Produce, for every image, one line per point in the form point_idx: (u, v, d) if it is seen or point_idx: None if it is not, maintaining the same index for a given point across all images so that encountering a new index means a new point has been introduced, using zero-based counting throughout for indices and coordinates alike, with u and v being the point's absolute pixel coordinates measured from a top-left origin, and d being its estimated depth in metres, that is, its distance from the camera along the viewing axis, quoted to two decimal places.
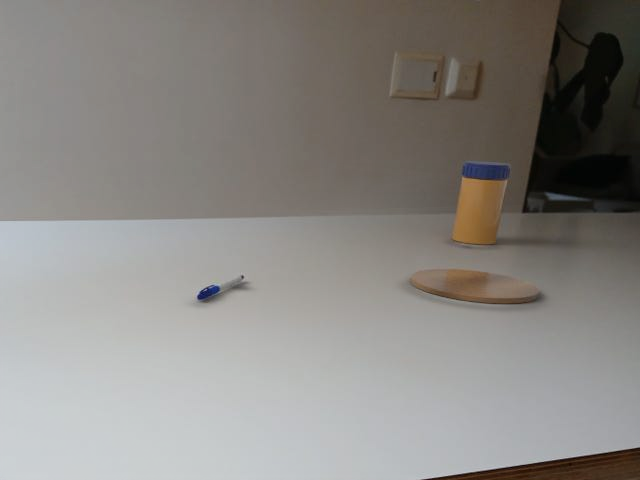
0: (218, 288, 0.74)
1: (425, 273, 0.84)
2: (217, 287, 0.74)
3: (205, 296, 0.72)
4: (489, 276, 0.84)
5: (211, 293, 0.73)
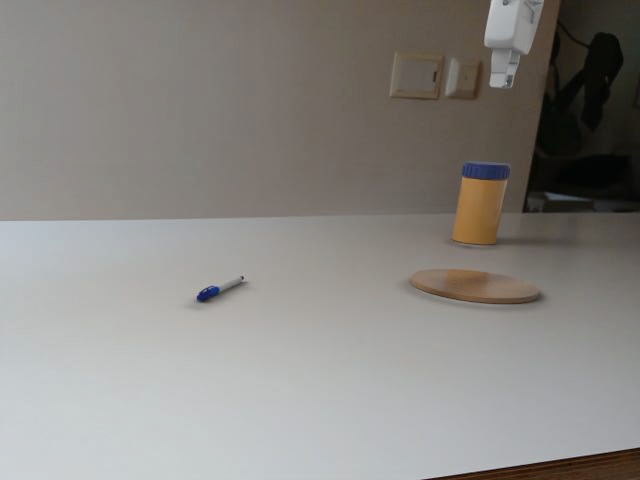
0: (218, 289, 0.74)
1: (425, 273, 0.84)
2: (217, 288, 0.74)
3: (205, 297, 0.72)
4: (489, 276, 0.84)
5: (211, 294, 0.73)
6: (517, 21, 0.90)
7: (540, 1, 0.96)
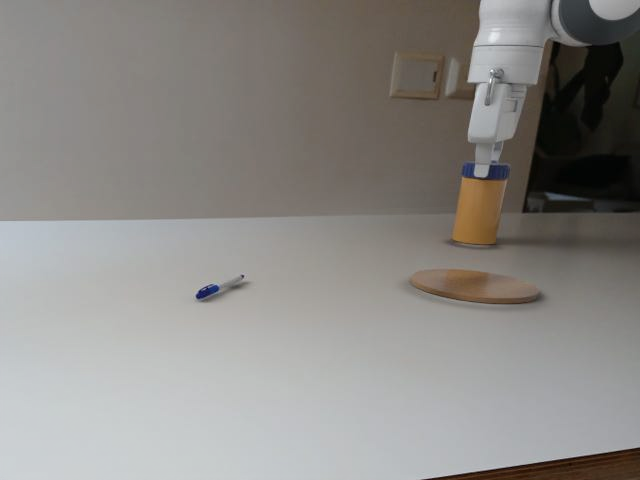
0: (217, 287, 0.74)
1: (425, 273, 0.84)
2: (216, 286, 0.74)
3: (204, 295, 0.72)
4: (489, 276, 0.84)
5: (210, 292, 0.73)
6: (498, 121, 0.94)
7: (522, 96, 1.00)
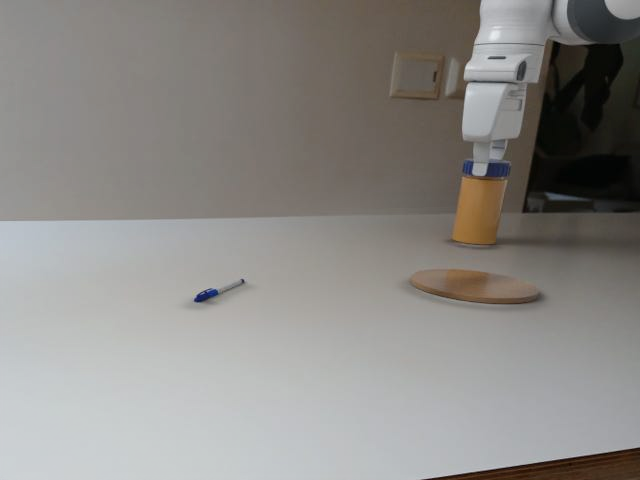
0: (216, 292, 0.74)
1: (425, 273, 0.84)
2: (215, 290, 0.74)
3: (202, 299, 0.72)
4: (489, 276, 0.84)
5: (209, 296, 0.73)
6: None
7: None
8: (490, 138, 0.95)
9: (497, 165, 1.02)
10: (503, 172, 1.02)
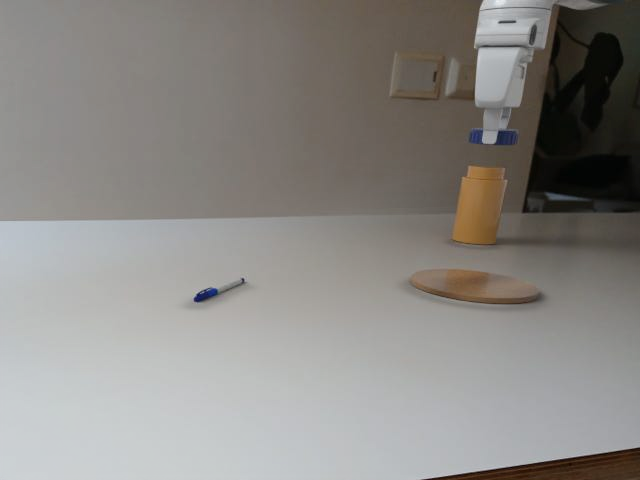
0: (216, 291, 0.74)
1: (425, 273, 0.84)
2: (215, 290, 0.74)
3: (202, 298, 0.72)
4: (489, 276, 0.84)
5: (208, 296, 0.73)
6: None
7: None
8: (504, 103, 0.94)
9: (506, 133, 1.01)
10: (511, 140, 1.01)
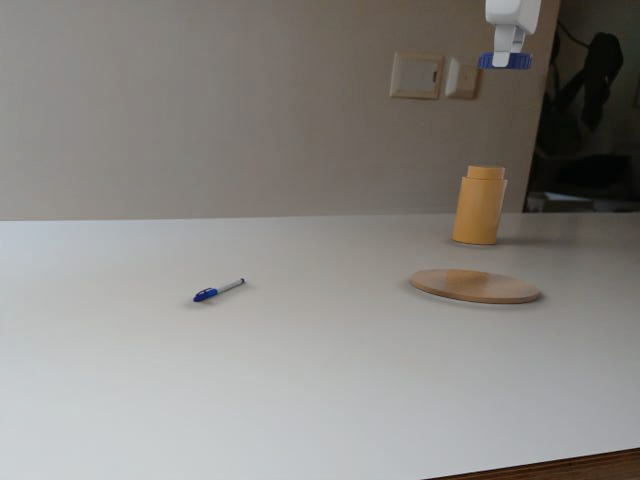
0: (216, 291, 0.74)
1: (425, 273, 0.84)
2: (215, 290, 0.74)
3: (201, 299, 0.72)
4: (489, 276, 0.84)
5: (208, 296, 0.73)
6: None
7: None
8: (517, 16, 0.85)
9: (519, 55, 0.92)
10: (524, 64, 0.92)
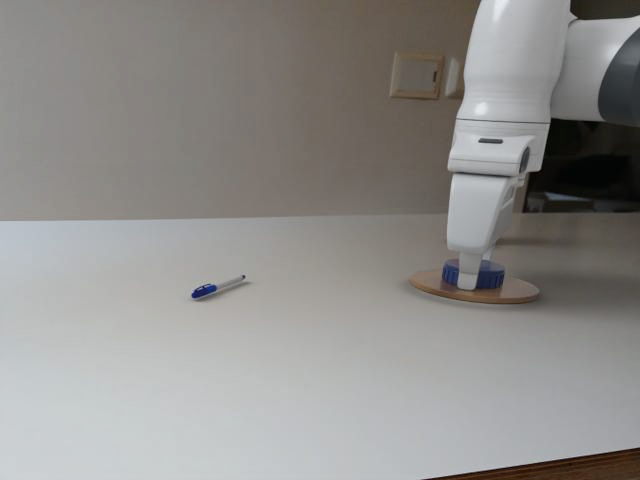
0: (215, 287, 0.74)
1: (425, 273, 0.84)
2: (214, 286, 0.74)
3: (200, 295, 0.72)
4: None
5: (207, 292, 0.73)
6: None
7: None
8: (485, 250, 0.71)
9: (489, 274, 0.78)
10: (496, 282, 0.78)
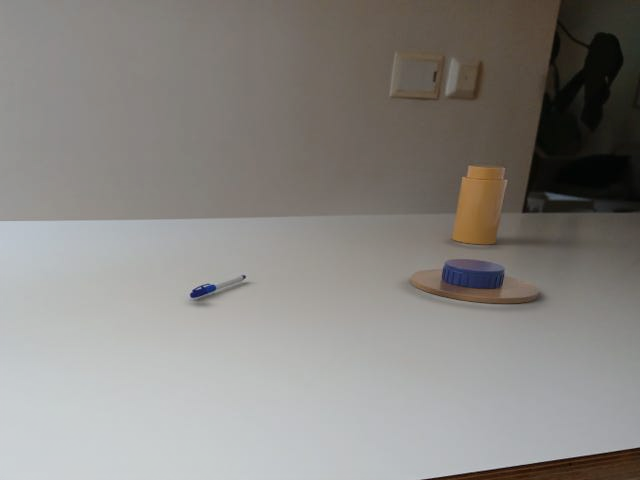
0: (214, 287, 0.74)
1: (425, 273, 0.84)
2: (213, 286, 0.74)
3: (198, 294, 0.72)
4: None
5: (205, 292, 0.73)
6: None
7: None
8: None
9: (489, 274, 0.78)
10: (495, 282, 0.78)
